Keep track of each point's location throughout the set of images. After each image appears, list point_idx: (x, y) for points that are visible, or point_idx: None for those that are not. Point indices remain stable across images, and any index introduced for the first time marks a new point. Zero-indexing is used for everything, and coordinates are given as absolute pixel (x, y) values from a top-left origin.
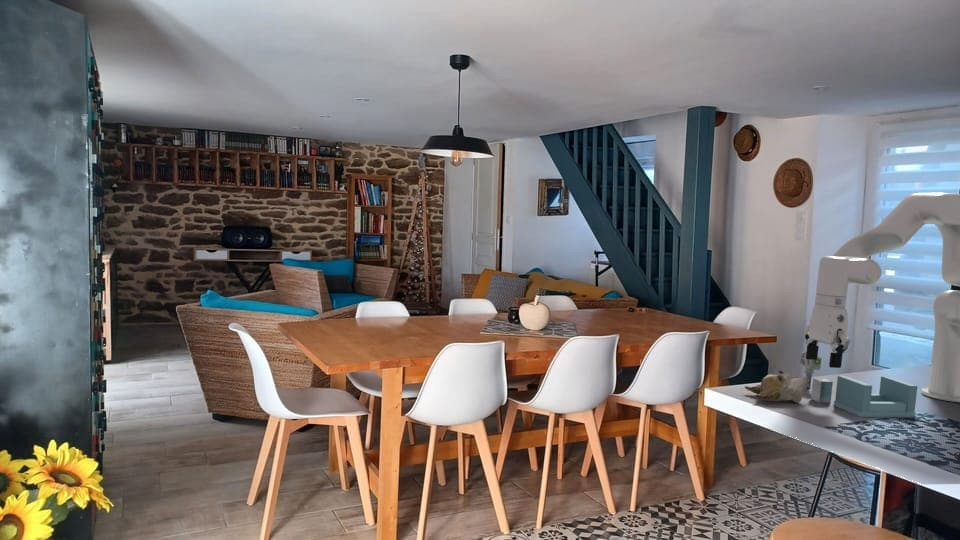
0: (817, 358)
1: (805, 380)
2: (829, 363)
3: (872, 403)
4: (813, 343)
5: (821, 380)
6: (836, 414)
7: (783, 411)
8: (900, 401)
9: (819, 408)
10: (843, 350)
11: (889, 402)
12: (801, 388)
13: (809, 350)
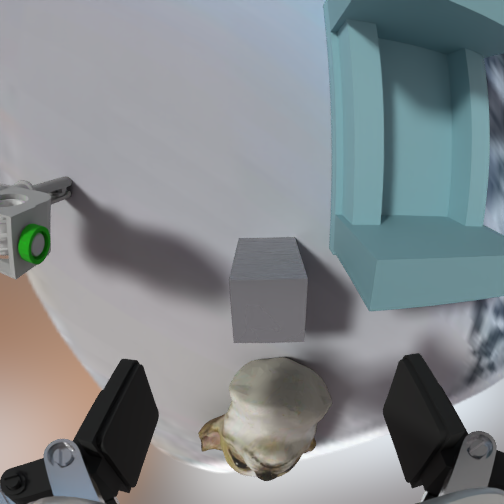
0: (14, 242)
1: (310, 412)
2: (391, 427)
3: (484, 211)
4: (106, 487)
5: (281, 327)
6: (420, 310)
7: (363, 421)
8: (458, 46)
9: (359, 327)
10: (500, 462)
11: (478, 116)
12: (326, 409)
13: (142, 459)
